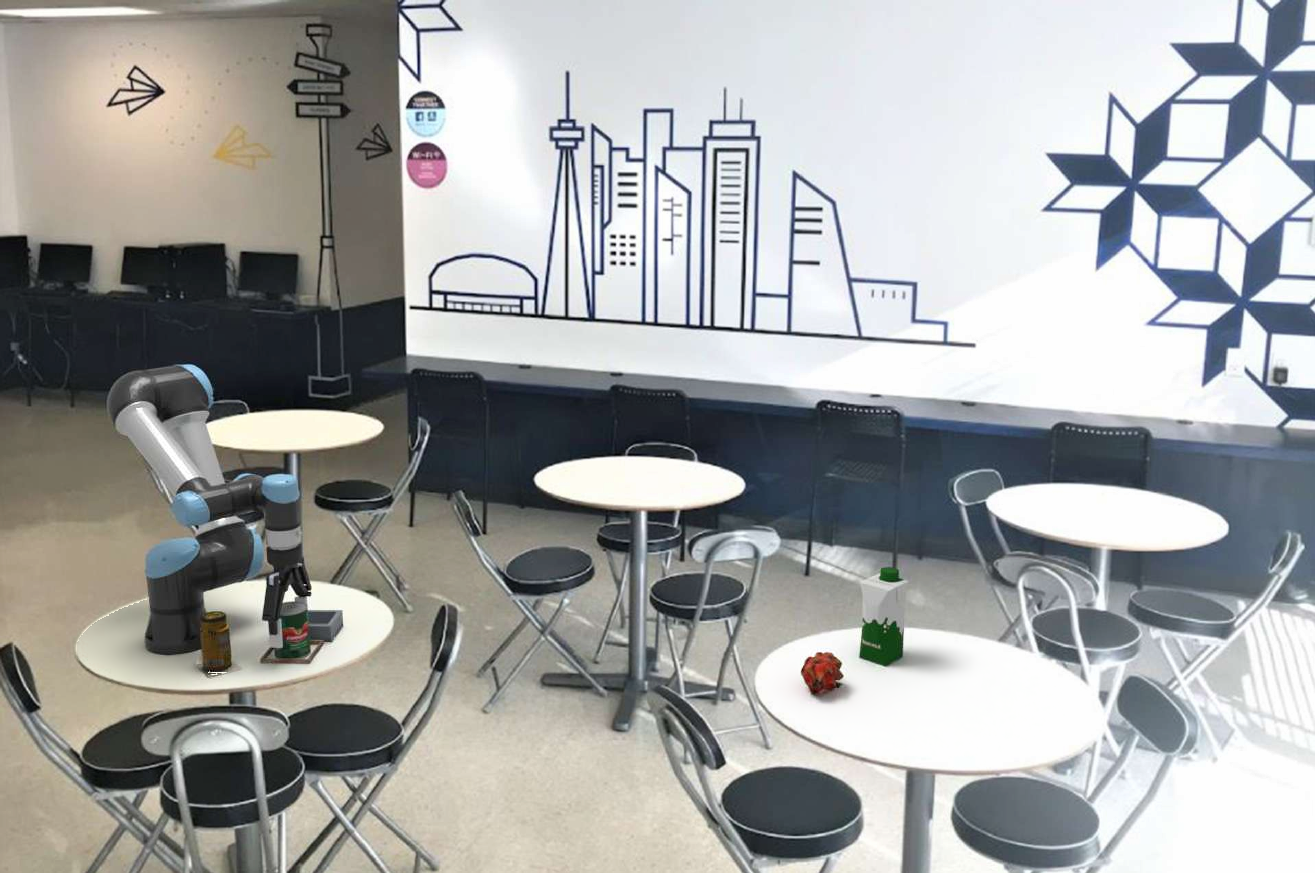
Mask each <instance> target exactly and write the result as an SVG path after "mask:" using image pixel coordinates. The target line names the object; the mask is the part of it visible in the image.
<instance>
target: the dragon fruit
mask: <svg viewBox="0 0 1315 873" xmlns="http://www.w3.org/2000/svg"><path fill="white" fill-rule="evenodd" d="M842 665H843V662H842V661H841V660H840V659H838V657H837V656H835V655H834V654H833V653H832V652H829V651H826V652H821V651H820V652H819V651H817V652H816V653H815V654H814V656H808V657H807V658H806V659H805V660H804V663H803V665H802V667H801V670H800V675H801V676H802V679H803V681H804V683H805V685H806V686H807V687H808V689H809V690H810V691H809V692H810V693H811V694H812V695H813V696H815V695H816V694H818V695H819V694H826V693H827V691H828V692H833V691H835V690H836V689H837V690H838V689H840V688H841V686H842V685H843V682H840V681H841V680H843V679H844V677H845V676H844V674H843V672H842V671H841V668H842Z"/></svg>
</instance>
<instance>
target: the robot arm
mask: <svg viewBox="0 0 1315 873" xmlns="http://www.w3.org/2000/svg"><path fill="white" fill-rule="evenodd" d="M213 390H214V389H213V387H212V384H211V382H210V379H209V378H208V376H207V375H206V373H205V372H204V371H203V370H202V369H201V368H199V367H198V366H196V365H194V364H173V365H169V366H163V367H157V368H156V367H155V368H149V369H143V370H142V369H141V370H134V371H130V372H127V373H125V374H124V375H122V376H120V377H119V378H118V379H117V380H116V381H115V382H114V383H113V385H112V386H111V388H110V390H109V393H108V395H107V399H106V409H107V414H108V417H109V419H110V422H111V424H112V425H113V426H114V428H115V429H116V431H117V432H118V433H119V434H120V435H123V436H126V437H128V438H129V440H130V442H132V444H133V445H134V446H135V448H136V449H137V450H138V451H139V453H140V454H141V456H142V457H143V458H144V460H145V461H147V463H148V464H149V466H150V467H151V468H152V470H153V471H154V472H155V473H156V475H157V477H159V479H160V480H161V481H162V483H163V484H164V486H165V487H166V488H167V489H168V490H169V492H170V493H171V495H173V499H172V503H171V508H172V513H173V515H174V518H175V520H176V521H177V523H178V524H179V525H181V526H183V527H184V528H187V527H194V526H197V527H198V530H197V531H196V533H195V534H194V538H193V537H190V536H189V537H187V536H186V537H179V538H172V539H168V540H165V541H162V542H160V543H157V544H156V545H154V546H153V547H151V548H150V549H149V550H148V552H147V553H146V554H145V557H144V559H145V561H144V563H145V564H144V565H145V566H144V567H145V568H144V573H145V576H146V585H147V596H148V603H149V618H148V621H147V626H146V629H145V634H144V646H145V649H146V650H148V651H149V652H152V653H154V654H160V655H163V654H164V655H175V654H183V653H189V652H194V651H196V650H199V649H201V637H200V628H201V627H202V626H201V616H202V615H203V614H205V613H208V611H207V609H206V607H205V599H204V597H205V596H204V593H205V592H209V591H213V590H217V589H219V588H223V587H226V586H230V585H235V584H238V583H243V582H244V581H247V580H250V579H253V578H255V577H257V575H259V573H260V572H261V571H262V568H263V566H264V565H263V564H264V560H265V550H266V562H267V563H268V564H269V565H270V566H272V567H273V572H272V574H267V575H266V576H265V577H266V578H265V583H266V584H265V585H266V586H265V593H264V594H265V595H264V601H263V609H262V616H261V620H262V621H264V622H267V623H268V625H267V627H268V638H269V639H268V640H269V648H270V647H274V648H282V647H283V640H282V625H281V619H279V616H280V612H281V608H282V603H284V599H285V594H286V593H287V592H288V590H289V587H291V588H292V590H293V591H294V594H295V595H296V596H295V597H294V601H297V602H303V603H306V604H307V605H308V597H311V596H312V584H311V581H310V577H309V575H308V571H307V568H306V566H305V556H303V545H302V544H301V542H302V535H303V531H301V529H302V528H301V507H300V503H301V502H300V495H301V494H300V490H299V485H298V484H299V483H298V479H297V477H295V476H294V475H291V474H285V473H277V474H269V475H267V476H265V477H263V476H260V475H258V474H257V475H256V474H255V473H254V474H252V473H241V474H239V475H238V476H236V478H234V479H233V480H232V481H230V482H225V479H224V475H223V473H222V470H221V467H220V464H219V460H218V457H217V454H216V451H215V448H214V444H213V442H212V439H211V436H210V433H209V430H208V426H207V425H206V421H207V419H208V417H209V416H210V410H209V409H211V407H212V405H213V402H214V397H213V395H214V391H213ZM252 512H256V513H259V514H261V515H263V519H264V533H265V534H264V535H265V536H264V537H265V545H266V546H267V547H266V549H265V550H264V544H263V540H262V536H261V535H260V534H259V533H258V531H257V530H256V529H254V528H249V527H248V528H247V525H246V522H245V520H244V519H243V518H239V517H238V516H240V515H245V514H249V513H252Z"/></svg>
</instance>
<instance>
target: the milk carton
mask: <svg viewBox="0 0 1315 873" xmlns="http://www.w3.org/2000/svg"><path fill="white" fill-rule="evenodd" d="M908 587H909V580H906V579H903V578H900V569H898V568H897V567H892V566H887V567H882V568H880V572H879V573H877V574H874V575H873V576H870V577H867V578H866V579H864V580H862V581H860V588H861V593H862V614H861V615H862V616H861V636H860V645H859V654H858V655H859V656H858V658H859V659H862V660H866V661H869V662H872V663H875V664H878V665H881V666H884V667H887V666H889V665H890V664H893V663H894V662H896V661H898V660H900V659H901V658H902V657H904V635H905V634H904V633H905V616H906V614H905V613H906V598H907V592H908Z"/></svg>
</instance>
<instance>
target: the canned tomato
mask: <svg viewBox="0 0 1315 873" xmlns="http://www.w3.org/2000/svg"><path fill="white" fill-rule="evenodd" d="M308 608H309V606H308V603H307V604H306V603H303V602H297V601H295V600H292V601H285V602H284V601H283V603H282V608H281V612H280V616H279V619H281V625H282V640H283V647H282V648H274V650H273V651H274V655H273V656H274V658H296V659H305V658H306V657H309V656H310V655H311V654H312V652H311V651H312V650H311V645H310V636H309V620H308V610H309V609H308Z"/></svg>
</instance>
